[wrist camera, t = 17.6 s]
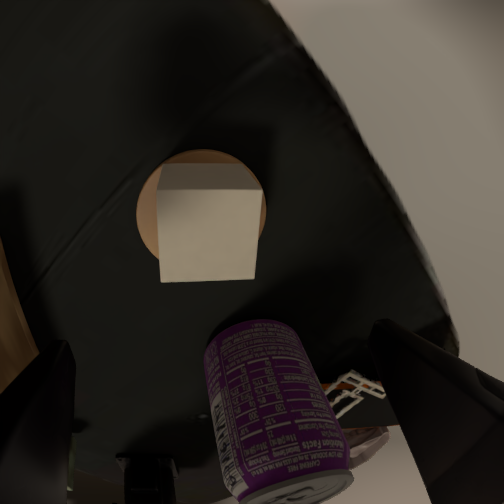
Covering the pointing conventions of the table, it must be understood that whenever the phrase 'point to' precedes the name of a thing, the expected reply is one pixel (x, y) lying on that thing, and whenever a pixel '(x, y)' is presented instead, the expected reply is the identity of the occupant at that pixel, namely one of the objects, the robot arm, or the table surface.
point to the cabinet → (12, 329)
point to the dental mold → (365, 443)
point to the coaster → (147, 197)
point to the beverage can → (273, 418)
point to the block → (207, 222)
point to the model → (353, 394)
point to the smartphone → (362, 408)
